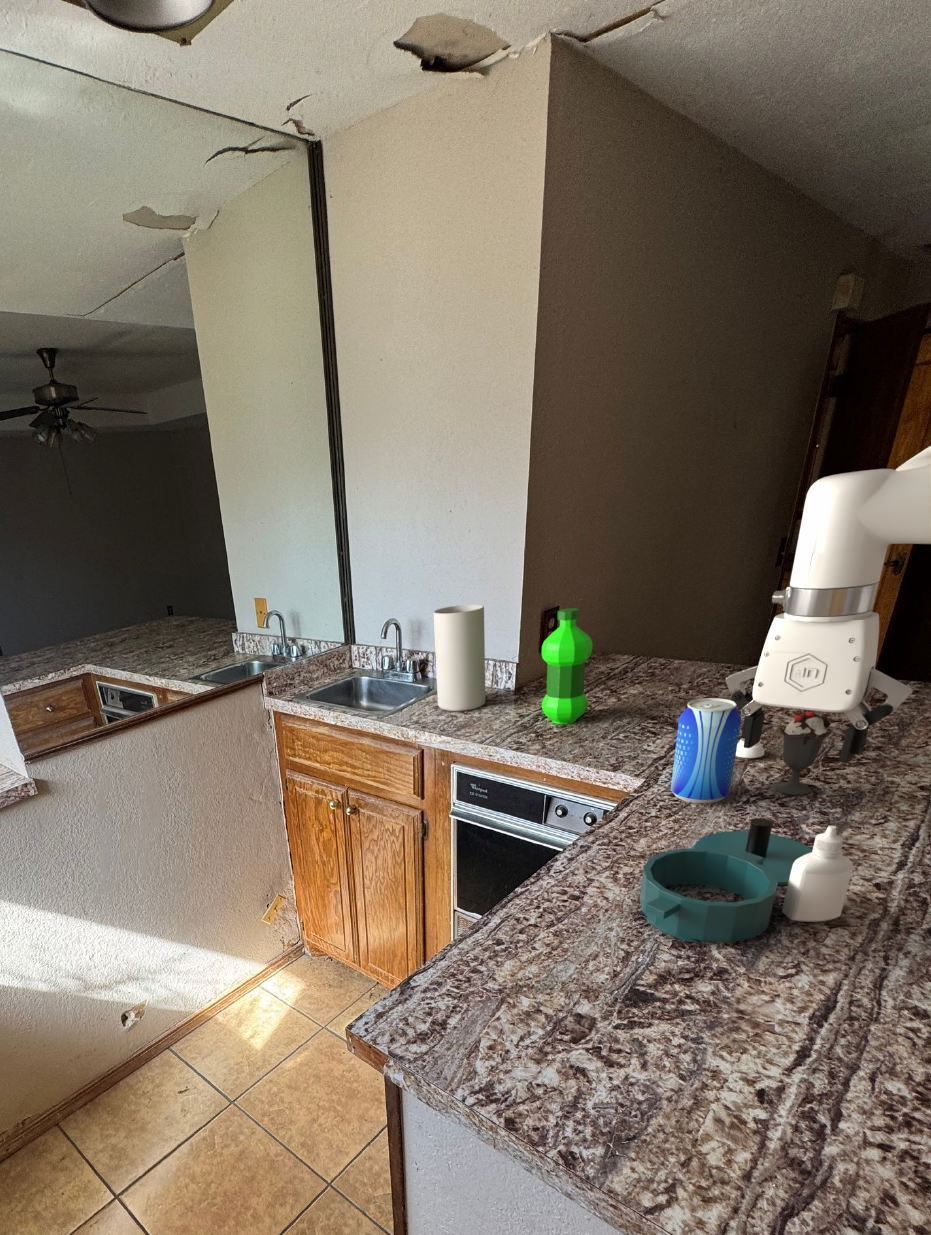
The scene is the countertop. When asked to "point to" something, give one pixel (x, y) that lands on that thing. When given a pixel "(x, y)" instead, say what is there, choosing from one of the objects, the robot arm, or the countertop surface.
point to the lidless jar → (749, 750)
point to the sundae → (802, 748)
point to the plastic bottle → (566, 669)
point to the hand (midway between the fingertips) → (797, 751)
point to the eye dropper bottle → (819, 881)
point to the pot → (702, 916)
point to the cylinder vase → (460, 657)
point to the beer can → (705, 750)
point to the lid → (759, 847)
